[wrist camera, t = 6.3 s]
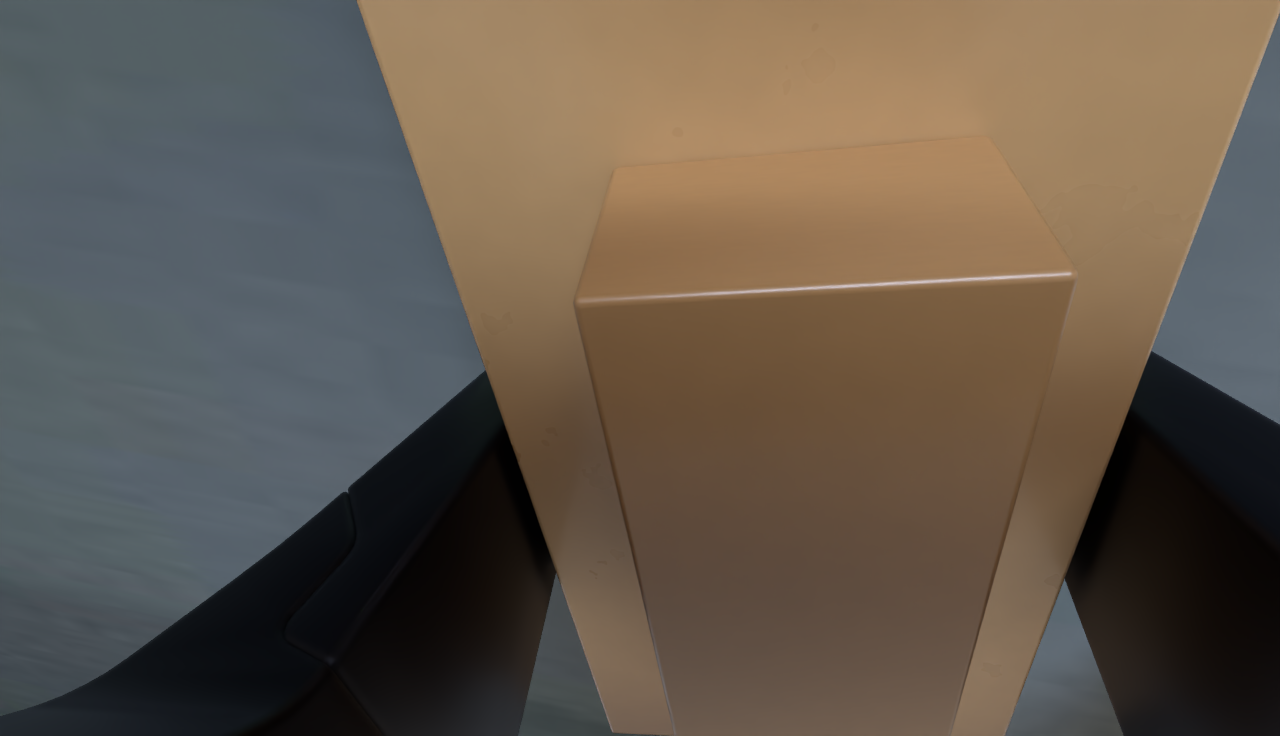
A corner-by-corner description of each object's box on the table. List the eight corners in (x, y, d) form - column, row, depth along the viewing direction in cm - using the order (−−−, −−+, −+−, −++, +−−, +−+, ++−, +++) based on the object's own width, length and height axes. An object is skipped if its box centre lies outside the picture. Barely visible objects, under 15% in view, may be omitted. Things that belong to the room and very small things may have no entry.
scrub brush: (940, 520, 13) (1038, 898, 8) (639, 521, 13) (593, 864, 9) (1080, -230, 6) (1732, -196, 2) (497, -137, 7) (163, 16, 3)
